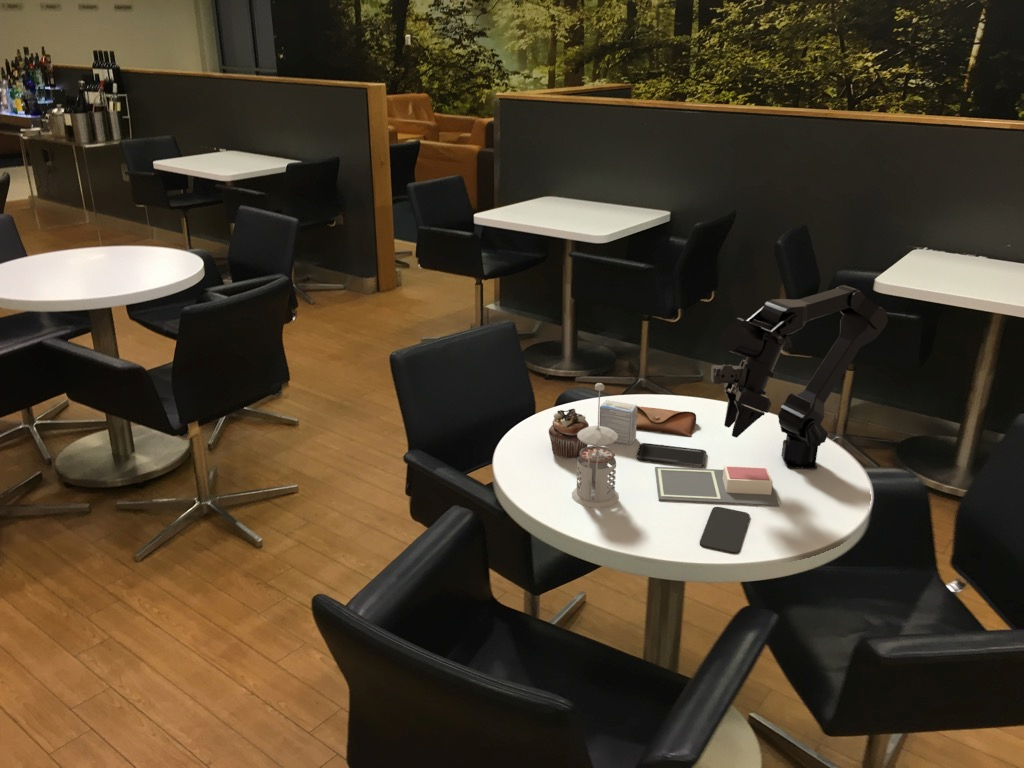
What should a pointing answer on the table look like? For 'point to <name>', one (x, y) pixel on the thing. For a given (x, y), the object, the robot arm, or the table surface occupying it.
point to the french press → (596, 466)
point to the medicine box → (619, 420)
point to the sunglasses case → (665, 421)
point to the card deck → (747, 480)
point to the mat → (703, 488)
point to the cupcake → (567, 433)
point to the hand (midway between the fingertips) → (730, 431)
